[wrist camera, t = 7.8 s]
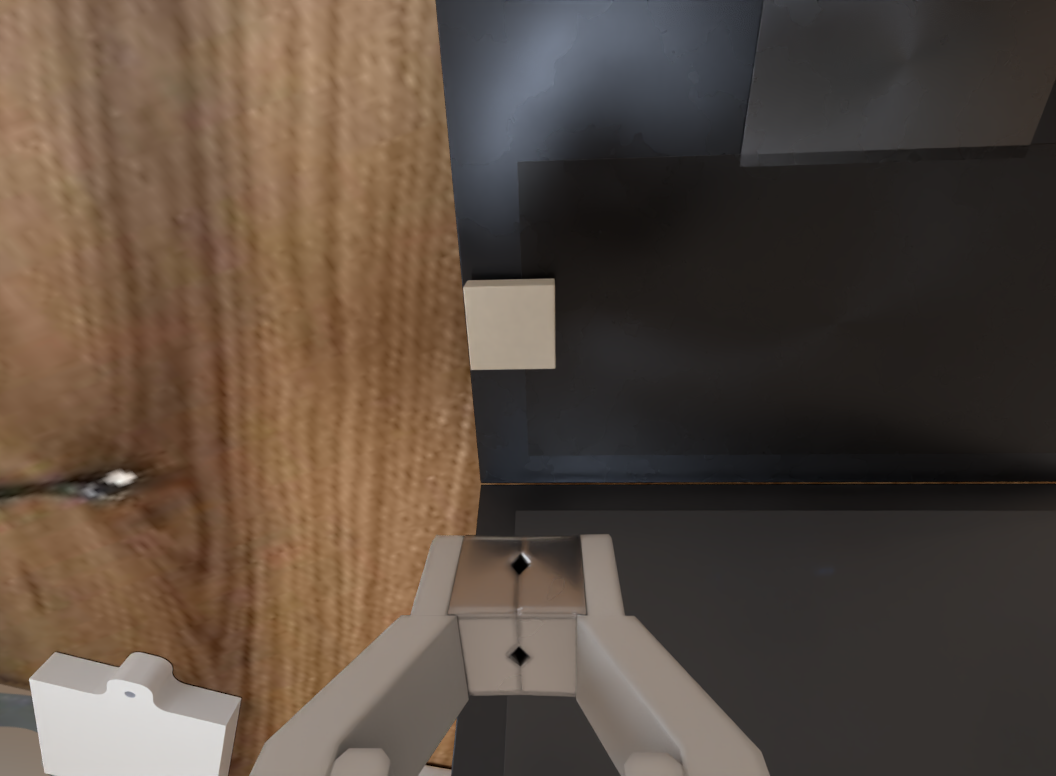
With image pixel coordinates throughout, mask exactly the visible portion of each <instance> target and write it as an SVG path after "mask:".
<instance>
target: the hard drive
mask: <svg viewBox="0 0 1056 776" xmlns="http://www.w3.org/2000/svg"><path fill="white" fill-rule="evenodd" d="M418 776H451V769H445V768H439V767H434V766H428V765H425V766H424V767H423V769H422V770H421V772H420V773H419V775H418Z"/></svg>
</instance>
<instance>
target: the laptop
mask: <svg viewBox="0 0 1056 776" xmlns="http://www.w3.org/2000/svg"><path fill="white" fill-rule="evenodd" d="M436 10H437V21H438V32H439V42H440V53H441V64H442V74H443V85H444V96H445V106H446V117H447V128H448V138H449V149H450V160H451V170H452V181H453V192H454V202H455V213H456V224H457V234H458V245H459V256H460V266H461V277H462V288H463V287H464V285H465V284H466V282H467V281H468V280H508V279H554V280H555V351H556V368H555V369H505V370H471V366H470V373H471V384H472V394H473V405H474V416H475V426H476V437H477V448H478V458H479V469H480V480H481V483H652V482H1056V0H436ZM463 298H464V291H463ZM464 309H465V302H464ZM465 320H466V313H465ZM466 330H467V324H466ZM467 341H468V334H467ZM468 352H469V345H468ZM469 362H470V356H469Z"/></svg>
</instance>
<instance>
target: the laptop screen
mask: <svg viewBox="0 0 1056 776" xmlns="http://www.w3.org/2000/svg"><path fill="white" fill-rule="evenodd" d="M591 534H609V535H610V537H611V538H612V543H613V549H614V554H615V560H616V566H617V572H618V578H619V584H620V589H621V595H622V601H623V607H624V613H625V616H635V617H636V618H637V619H638V620H639V621H640V622H641V623H642V624H643V625H644V626H645V628H646V629H647V630H648V631H649V632H650V633H651V634H652V635H653V636H654V637H655V638H656V639H657V640H658V641H659V643H660V644H661V645H662V646H663V647H664V648H665V649H666V650H667V651H668V652H669V653H670V654H671V655H672V656H673V658H674V659H675V660H676V661H677V662H678V663H679V664H680V665H681V666H682V667H683V668H684V669H685V670H686V671H687V673H688V674H689V675H690V676H691V677H692V678H693V679H694V680H695V681H696V682H697V683H698V684H699V685H700V686H701V688H702V689H703V690H704V691H705V692H706V693H707V694H708V695H709V696H710V697H711V698H712V699H713V700H714V701H715V703H716V704H717V705H718V706H719V707H720V708H721V709H722V710H723V711H724V712H725V713H726V714H727V715H728V716H729V718H730V719H731V720H732V721H733V722H734V723H735V724H736V725H737V726H738V727H739V728H740V729H741V730H742V731H743V733H744V734H745V735H746V736H747V737H748V738H749V739H750V740H751V741H752V742H753V743H754V744H755V745H756V746H757V748H758V749H759V750H760V751H761V752H762V755H763V758H764V760H765V763H766V766H767V769H768V772H769V774H770V776H1056V484H650V485H481V490H480V500H479V509H478V519H477V529H476V535H488V536H550V535H579V536H580V535H591ZM468 698H469V700H468V702H467V703H466V705H465V706H464V708H463V709H462V711H461V712H460V714H459V715H458V717H457V721H456V731H455V741H454V750H453V760H452V770H451V776H621V775H620V774H619V772H618V770H617V768H616V767H615V765H614V763H613V762H612V760H611V758H610V757H609V755H608V753H607V751H606V750H605V748H604V746H603V745H602V743H601V741H600V739H599V738H598V736H597V734H596V733H595V731H594V729H593V728H592V726H591V724H590V722H589V721H588V719H587V717H586V716H585V714H584V712H583V711H582V709H581V707H580V705H579V704H578V702H577V700H576V697H564V696H538V695H490V696H468Z"/></svg>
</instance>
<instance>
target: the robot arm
mask: <svg viewBox="0 0 1056 776" xmlns="http://www.w3.org/2000/svg"><path fill="white" fill-rule="evenodd" d="M490 695H538V696H564V697H576V700H577V702H578V704H579V705H580V707H581V709H582V711H583V712H584V714H585V716H586V717H587V719H588V721H589V722H590V724H591V726H592V728H593V729H594V731H595V733H596V734H597V736H598V738H599V739H600V741H601V743H602V745H603V746H604V748H605V750H606V751H607V753H608V755H609V757H610V758H611V760H612V762H613V763H614V765H615V767H616V768H617V770H618V772H619V774H620V775H621V776H770V774H769V772H768V769H767V766H766V763H765V760H764V758H763V755H762V752H761V751H760V750H759V749H758V748H757V746H756V745H755V744H754V743H753V742H752V741H751V740H750V739H749V738H748V737H747V736H746V735H745V734H744V733H743V731H742V730H741V729H740V728H739V727H738V726H737V725H736V724H735V723H734V722H733V721H732V720H731V719H730V718H729V716H728V715H727V714H726V713H725V712H724V711H723V710H722V709H721V708H720V707H719V706H718V705H717V704H716V703H715V701H714V700H713V699H712V698H711V697H710V696H709V695H708V694H707V693H706V692H705V691H704V690H703V689H702V688H701V686H700V685H699V684H698V683H697V682H696V681H695V680H694V679H693V678H692V677H691V676H690V675H689V674H688V673H687V671H686V670H685V669H684V668H683V667H682V666H681V665H680V664H679V663H678V662H677V661H676V660H675V659H674V658H673V656H672V655H671V654H670V653H669V652H668V651H667V650H666V649H665V648H664V647H663V646H662V645H661V644H660V643H659V641H658V640H657V639H656V638H655V637H654V636H653V635H652V634H651V633H650V632H649V631H648V630H647V629H646V628H645V626H644V625H643V624H642V623H641V622H640V621H639V620H638V619H637V618H636V617H635V616H625V613H624V607H623V601H622V595H621V589H620V584H619V578H618V572H617V566H616V560H615V554H614V549H613V543H612V538H611V537H610V535H609V534H591V535H580V536H579V535H550V536H488V535H465V536H452V535H436V537H435V538H434V540H433V541H432V543H431V546H430V550H429V553H428V557H427V560H426V563H425V567H424V570H423V574H422V577H421V580H420V584H419V587H418V591H417V594H416V597H415V601H414V604H413V608H412V611H411V614H410V615H401V616H400V617H399V618H398V619H397V620H396V621H395V622H394V623H392V624H391V625H390V626H389V627H388V628H387V629H386V630H385V631H384V632H383V633H382V634H381V635H380V636H379V637H377V638H376V639H375V640H374V641H373V642H372V643H371V644H370V645H369V646H368V647H367V648H366V649H365V650H364V651H363V652H361V653H360V654H359V655H358V656H357V657H356V658H355V659H354V660H353V661H352V662H351V663H350V664H349V665H348V666H347V667H345V668H344V669H343V670H342V671H341V672H340V673H339V674H338V675H337V676H336V677H335V678H334V679H333V680H332V681H331V682H329V683H328V684H327V685H326V686H325V687H324V688H323V689H322V690H321V691H320V692H319V693H318V694H317V695H316V696H314V697H313V698H312V699H311V700H310V701H309V702H308V703H307V704H306V705H305V706H304V707H303V708H302V709H301V710H300V711H298V712H297V713H296V714H295V715H294V716H293V717H292V718H291V719H290V720H289V721H288V722H287V723H286V724H285V725H284V726H282V727H281V728H280V729H279V730H278V731H277V732H276V733H275V734H274V735H273V736H272V737H271V738H270V739H269V740H268V741H266V742H265V744H264V746H263V748H262V750H261V752H260V754H259V756H258V758H257V761H256V763H255V765H254V767H253V769H252V771H251V773H250V775H249V776H418V775H419V773H420V772H421V770H422V769H423V767H424V766H425V764H426V763H427V761H428V760H429V758H430V757H431V755H432V754H433V752H434V751H435V749H436V748H437V746H438V745H439V743H440V742H441V740H442V739H443V738H444V736H445V735H446V733H447V732H448V730H449V729H450V727H451V726H452V724H453V723H454V721H455V720H456V718H457V717H458V715H459V714H460V712H461V711H462V709H463V708H464V706H465V705H466V703H467V702H468V700H469V698H468V696H490Z"/></svg>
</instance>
